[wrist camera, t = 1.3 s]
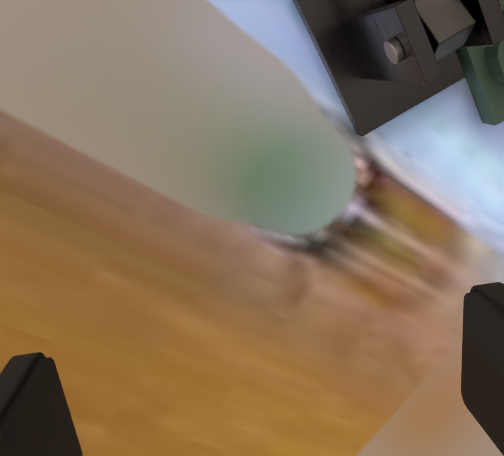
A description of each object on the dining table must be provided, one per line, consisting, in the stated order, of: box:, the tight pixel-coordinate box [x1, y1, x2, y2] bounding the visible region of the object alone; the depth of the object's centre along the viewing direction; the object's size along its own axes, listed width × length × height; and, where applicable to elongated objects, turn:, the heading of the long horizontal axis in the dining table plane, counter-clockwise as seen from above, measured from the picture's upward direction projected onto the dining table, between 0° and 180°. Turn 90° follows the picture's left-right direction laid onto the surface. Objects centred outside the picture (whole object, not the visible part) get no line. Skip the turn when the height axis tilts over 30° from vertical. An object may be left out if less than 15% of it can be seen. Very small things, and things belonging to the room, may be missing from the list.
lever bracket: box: [293, 0, 504, 136], centre depth 30 cm, size 12×9×12 cm
